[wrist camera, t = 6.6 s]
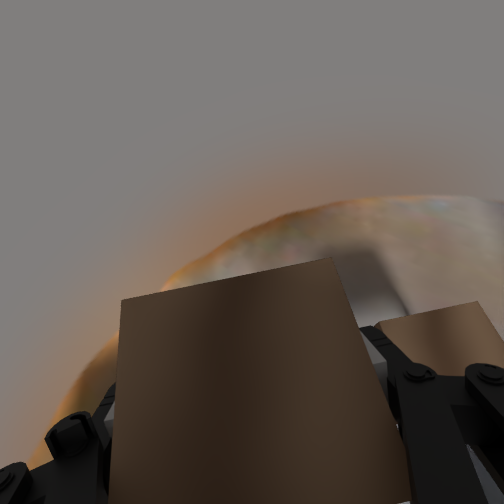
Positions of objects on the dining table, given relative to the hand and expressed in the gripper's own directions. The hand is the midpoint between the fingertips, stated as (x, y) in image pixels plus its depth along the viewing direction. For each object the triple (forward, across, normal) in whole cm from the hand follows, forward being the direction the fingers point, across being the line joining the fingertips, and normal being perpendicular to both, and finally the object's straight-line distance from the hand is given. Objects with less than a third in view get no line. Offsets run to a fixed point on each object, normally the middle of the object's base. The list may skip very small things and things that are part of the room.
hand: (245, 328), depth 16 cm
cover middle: (0, 0, -5) cm, 5 cm away
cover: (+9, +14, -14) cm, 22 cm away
